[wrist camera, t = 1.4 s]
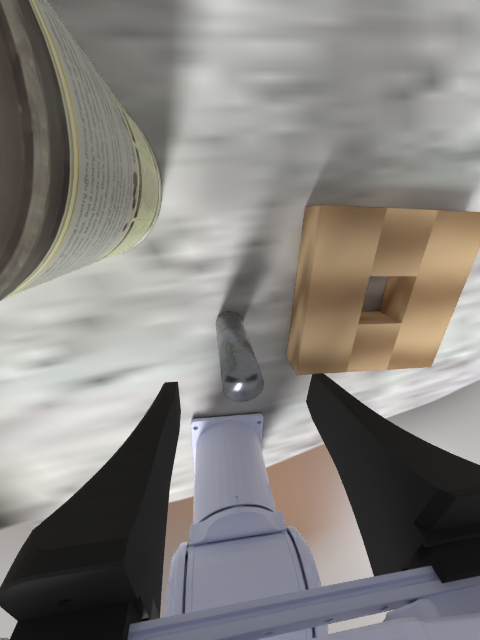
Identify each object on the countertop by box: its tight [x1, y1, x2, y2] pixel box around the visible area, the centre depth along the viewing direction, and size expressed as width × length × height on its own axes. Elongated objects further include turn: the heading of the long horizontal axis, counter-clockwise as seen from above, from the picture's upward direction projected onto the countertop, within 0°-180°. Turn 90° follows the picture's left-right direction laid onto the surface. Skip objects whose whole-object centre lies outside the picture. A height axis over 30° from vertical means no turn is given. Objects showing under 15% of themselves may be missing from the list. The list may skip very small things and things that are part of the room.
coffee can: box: [0, 0, 162, 301], centre depth 10 cm, size 10×10×14 cm
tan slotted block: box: [286, 205, 480, 375], centre depth 21 cm, size 14×14×3 cm
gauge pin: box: [216, 311, 264, 402], centre depth 18 cm, size 2×2×9 cm
